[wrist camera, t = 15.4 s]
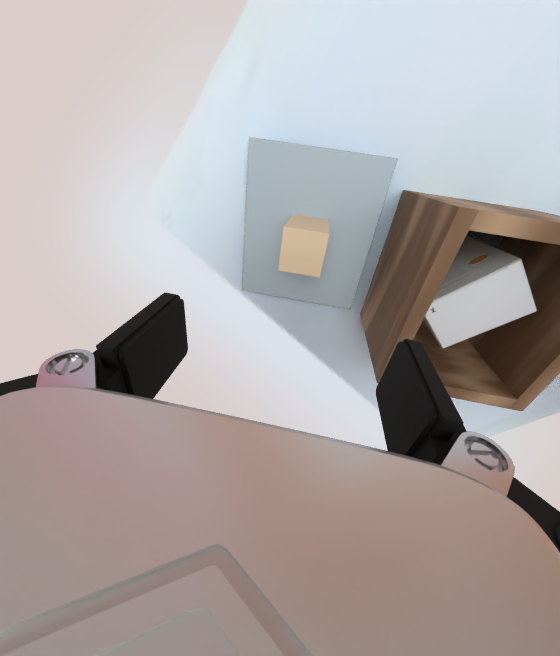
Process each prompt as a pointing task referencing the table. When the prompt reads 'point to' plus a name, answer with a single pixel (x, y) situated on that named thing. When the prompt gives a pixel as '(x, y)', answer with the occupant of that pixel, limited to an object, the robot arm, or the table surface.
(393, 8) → the table surface
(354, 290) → the lid
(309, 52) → the table surface
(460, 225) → the crate
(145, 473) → the robot arm
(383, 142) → the table surface
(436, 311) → the small box
